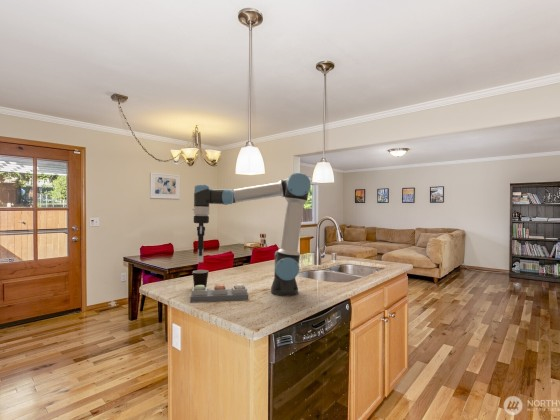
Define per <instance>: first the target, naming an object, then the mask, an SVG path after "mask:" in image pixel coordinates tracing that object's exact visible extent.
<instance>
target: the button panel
mask: <svg viewBox="0 0 560 420" xmlns="http://www.w3.org/2000/svg"><path fill="white" fill-rule="evenodd" d="M247 300H249V293H248V288H247V286H246V285H244V289H235V285H233V286H231V289H230V288H229V289H228V286H226V285H225V290H215V286H212V289H208V286H206V287H205V290H198V291H195V287H194V286H193V287H192V289H191V293H190V303H201V302H202V303H205V302H219V301H220V302H221V301H222V302H224V301H225V302H226V301H229V302H230V301H247Z"/></svg>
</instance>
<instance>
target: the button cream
mask: <svg viewBox="0 0 560 420" xmlns="http://www.w3.org/2000/svg"><path fill="white" fill-rule="evenodd" d="M234 286H235V289H244V286H245V284H244V283H235V284H234Z"/></svg>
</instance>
